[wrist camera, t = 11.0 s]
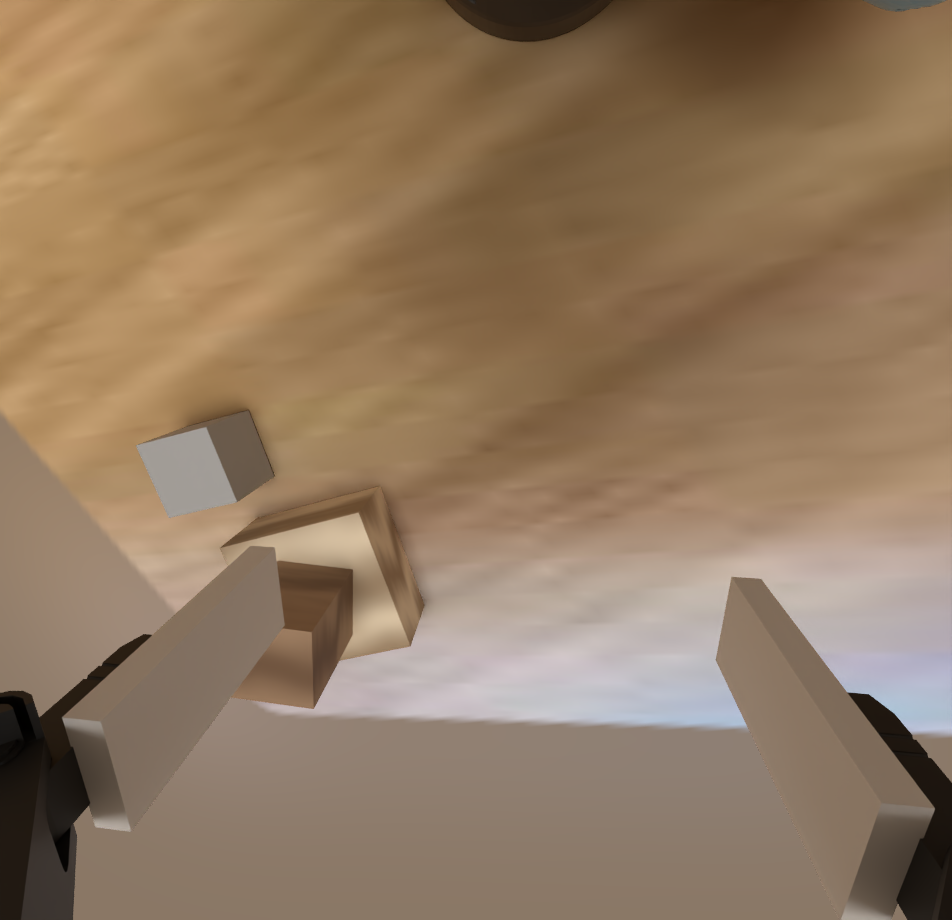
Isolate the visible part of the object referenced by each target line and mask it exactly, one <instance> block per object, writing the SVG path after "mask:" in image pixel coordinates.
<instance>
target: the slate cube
mask: <svg viewBox="0 0 952 920" xmlns="http://www.w3.org/2000/svg"><path fill="white" fill-rule="evenodd" d="M136 447H137V449H138V451H139V453H140V456H141V458H142V460H143V462H144V464H145V467H146V469H147V471H148V473H149V475H150V478H151V480H152V482H153V484H154V486H155V489H156V491H157V493H158V495H159V497H160V500H161V502H162V504H163V506H164V508H165V510H166V513H167V515H168V517H169V518H171V517H175V516H179V515H184V514H188V513H192V512H197V511H201V510H205V509H210V508H214V507H218V506H223V505H227V504H231V503H236V502H238V501H240V500H241V499H242V498H244V497H245V496H247V495H248V494H250V493H251V492H253V491H254V490H255V489H257V488H258V487H260V486H261V485H263V484H264V483H266V482H267V481H268V480H270V479H271V478H273V477H274V474H273V472H272V469H271V467H270V464H269V461H268V459H267V456H266V454H265V451H264V449H263V446H262V443H261V441H260V438H259V436H258V433H257V431H256V428H255V425H254V423H253V420H252V418H251V415H250V412H249V410H247V411H244V412H240V413H236V414H232V415H229V416H225V417H221V418H217V419H213V420H210V421H206V422H202V423H198V424H195V425H191V426H187V427H184V428H181V429H179V430H176V431H173V432H171V433H168V434H165V435H163V436H160V437H157V438H155V439H152V440H149V441H146V442H144V443H141V444H138V445H136Z"/></svg>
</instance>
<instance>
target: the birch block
mask: <svg viewBox="0 0 952 920" xmlns="http://www.w3.org/2000/svg"><path fill="white" fill-rule="evenodd" d="M250 546H263V547H275V552H276V560H277V561H286V562H295V563H303V564H312V565H320V566H329V567H337V568H345V569H353V635H352V637H351V639H350V641H349V643H348V645H347V647H346V649H345V651H344V652H343V654H342V656H341V658H340V660H345V659H350V658H355V657H360V656H364V655H369V654H374V653H379V652H384V651H389V650H394V649H399V648H404V647H409V646H411V643H412V640H413V637H414V634H415V631H416V629H417V626H418V623H419V620H420V617H421V614H422V611H423V608H424V603H423V600H422V597H421V595H420V592H419V589H418V587H417V584H416V581H415V579H414V576H413V573H412V570H411V568H410V565H409V562H408V560H407V557H406V554H405V552H404V549H403V546H402V544H401V541H400V538H399V536H398V533H397V530H396V527H395V525H394V522H393V519H392V517H391V514H390V511H389V509H388V506H387V503H386V501H385V498H384V495H383V492H382V490H381V487H380V486H378V487H374V488H370V489H366V490H362V491H359V492H355V493H351V494H347V495H343V496H340V497H336V498H332V499H328V500H324V501H321V502H317V503H313V504H309V505H305V506H302V507H298V508H294V509H290V510H286V511H283V512H279V513H275V514H271V515H268V516H264V517H260V518H257V519H255V520H254V521H253V522H252V523H250V524H249V525H248V526H247V527H245V528H244V529H243V530H242V531H240V532H239V533H238V534H237V535H235V536H234V537H233V538H232V539H230V540H229V541H228V542H227V543H226V544H224V545H223V546H222V547H221V548H220V550H221V552H222V554H223V556H224V559H225V561H226V563H227V565H228V566H229V565H230V564H231V563H232V562H233V561H234V560H236V559H237V558H238V557H239V556H240V555H241V554H242V553H243V552H244V551H245V550H247V549H248V548H249V547H250ZM340 660H339V661H340Z"/></svg>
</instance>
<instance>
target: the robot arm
mask: <svg viewBox="0 0 952 920" xmlns="http://www.w3.org/2000/svg"><path fill="white" fill-rule="evenodd" d="M446 1H447V2H448V4H449V5H450V6H451V7H452V8H453V9H454V10H455V11H456V12H457V13H458V14H459V15H460V16H461V17H463V18H464V19H465V20H466V21H468V22H469V23H471V24H472V25H473V26H475V27H477V28H479V29H480V30H482V31H484V32H487V33H489V34H491V35H494V36H497V37H501V38H504V39H510V40H517V41H535V40H543V39H548V38H552V37H555V36H559V35H561V34H564V33H567V32H569V31H571V30H573V29H575V28H577V27H579V26H581V25H582V24H584V23H585V22H587V21H589V20H590V19H591V18H593V17H594V16H595V15H597V14H598V13H599V12H600V11H601V10H603V9H604V8H605V7H606V6H607V5H608V4H609V3H610V2H611V1H612V0H446ZM863 1H865V2H868V3H870V4H872V5H874V6H877V7H879V8H881V9H884V10H888V11H896V12H897V11H905V10H909V9H918V8H921V7H930V6H933V5H936V4H939V3H941V2H944V1H946V0H863ZM284 625H285V623H284V615H283V608H282V600H281V592H280V584H279V576H278V568H277V560H276V552H275V547H263V546H250V547H249V548H248V549H247V550H245V551H244V552H243V553H242V554H241V555H240V556H239V557H238V558H237V559H236V560H234V561H233V562H232V563H231V564H230V565H229V566H228V567H227V568H226V569H225V570H223V571H222V572H221V573H220V574H219V575H218V576H217V577H216V578H215V579H214V580H212V581H211V582H210V583H209V584H208V585H207V586H206V587H205V588H204V589H203V590H201V591H200V592H199V593H198V594H197V595H196V596H195V597H194V598H193V599H192V600H190V601H189V602H188V603H187V604H186V605H185V606H184V607H183V608H182V609H181V610H179V611H178V612H177V613H176V614H175V615H174V616H173V617H172V618H171V619H170V620H168V622H166V623H165V624H164V625H163V626H162V627H161V628H160V629H159V630H158V631H157V632H155V633H154V634H153V635H146V634H143V635H142V636H140V637H138V638H136V639H134V640H133V641H131V642H129V643H127V644H125V645H123V646H122V647H120V648H119V649H118V650H117V651H116V652H114V653H113V654H112V655H111V656H110V657H109V658H107V659H106V660H105V661H104V662H103V664H102V666H98V667H97V668H96V669H95V670H94V671H92V672H91V673H90V674H89V675H88V677H87V679H83V680H82V681H81V682H80V683H79V684H78V685H77V686H75V687H74V688H73V689H72V690H71V691H69V692H68V693H67V694H66V695H65V696H64V697H63V698H62V699H60V700H59V701H58V702H57V703H56V704H55V705H53V706H52V707H51V708H50V709H49V710H48V711H46V712H45V713H44V714H43V715H42V716H41V717H40V718H39V716H38V713H37V710H36V707H35V704H34V701H33V698H32V695H31V694H29V693H26V692H24V691H8V692H4V693H0V920H73V904H74V885H75V865H76V845H77V834H76V831H75V827H74V824H73V823H74V822H75V821H76V820H77V818H78V817H79V816H80V815H81V814H82V812H83V811H84V810H85V809H86V808H87V807H88V806H89V807H90V811H91V814H92V817H93V820H94V823H95V827H99V828H106V829H114V830H122V831H130V832H131V831H132V830H133V829H134V827H135V826H136V825H137V823H138V822H139V821H140V819H141V818H142V817H143V815H144V814H145V813H146V811H147V810H148V809H149V807H150V806H151V804H152V803H153V802H154V800H155V799H156V798H157V796H158V795H159V794H160V792H161V791H162V790H163V788H164V787H165V786H166V784H167V783H168V782H169V780H170V779H171V778H172V776H173V775H174V773H175V772H176V771H177V770H178V768H179V767H180V765H181V764H182V763H183V761H184V760H185V759H186V757H187V756H188V755H189V753H190V752H191V751H192V749H193V748H194V746H195V745H196V744H197V742H198V741H199V740H200V738H201V737H202V736H203V734H204V733H205V732H206V730H207V729H208V728H209V726H210V725H211V724H212V722H213V721H214V720H215V718H216V717H217V716H218V714H219V713H220V712H221V710H222V709H223V707H224V706H225V705H226V704H227V702H228V701H229V699H230V698H231V697H232V695H233V694H234V693H235V691H236V690H237V689H238V687H239V686H240V685H241V683H242V682H243V681H244V679H245V678H246V677H247V675H248V674H249V673H250V671H251V670H252V669H253V667H254V666H255V664H256V663H257V662H258V660H259V659H260V658H261V656H262V655H263V654H264V652H265V651H266V650H267V648H268V647H269V646H270V644H271V643H272V642H273V640H274V639H275V638H276V636H277V635H278V634H279V632H280V631H281V629H282V628H283V627H284ZM716 661H717V664H718V666H719V668H720V670H721V672H722V674H723V676H724V678H725V680H726V682H727V685H728V687H729V689H730V691H731V693H732V695H733V697H734V699H735V701H736V703H737V706H738V708H739V710H740V712H741V714H742V716H743V718H744V720H745V722H746V725H747V727H748V729H749V731H750V733H751V735H752V737H753V739H754V741H755V743H756V746H757V748H758V750H759V752H760V754H761V756H762V758H763V760H764V762H765V764H766V767H767V768H768V771H769V773H770V775H771V777H772V779H773V781H774V783H775V786H776V788H777V790H778V791H779V794H780V796H781V798H782V800H783V802H784V805H785V807H786V809H787V811H788V813H789V815H790V817H791V819H792V821H793V823H794V825H795V828H796V830H797V832H798V834H799V836H800V838H801V840H802V842H803V845H804V846H805V849H806V851H807V853H808V855H809V857H810V859H811V861H812V863H813V866H814V868H815V870H816V872H817V874H818V876H819V878H820V880H821V882H822V885H823V887H824V889H825V891H826V893H827V895H828V897H829V899H830V901H831V903H832V905H833V908H834V909H835V912H836V914H837V916H838V918H839V920H891V919H892V917H893V914H894V912H895V909H896V906H897V904H899V906H900V908H901V909H902V911H903V913H904V914H905V916H906V918H907V920H952V783H951V781H950V780H949V779H948V778H947V777H946V775H945V774H944V773H943V772H942V771H941V770H940V768H939V767H938V766H937V764H936V763H935V762H934V761H933V760H932V759H931V758H928V755H927V752H926V751H925V750H924V749H923V748H922V747H921V745H920V744H919V743H918V742H917V740H913V738H912V734H911V733H910V732H909V731H908V730H907V728H906V727H905V726H904V725H903V724H902V722H901V721H900V720H899V719H898V718H897V716H896V715H895V714H894V713H893V712H891V711H890V710H889V709H887V708H886V707H885V706H883V705H882V704H881V703H879V702H878V701H877V700H875V699H874V698H873V697H871V696H870V695H869V694H858V693H847V692H846V690H845V689H844V688H843V686H842V685H841V684H840V683H839V681H838V680H837V679H836V677H835V676H834V675H833V673H832V672H831V671H830V669H829V668H828V667H827V665H826V664H825V663H824V661H823V660H822V659H821V658H820V656H819V655H818V654H817V652H816V651H815V650H814V648H813V647H812V646H811V644H810V643H809V642H808V640H807V639H806V638H805V636H804V635H803V634H802V632H801V631H800V630H799V629H798V627H797V626H796V625H795V623H794V622H793V621H792V619H791V618H790V617H789V615H788V614H787V613H786V611H785V610H784V609H783V607H782V606H781V605H780V603H779V602H778V601H777V600H776V598H775V597H774V596H773V594H772V593H771V592H770V590H769V589H768V588H767V586H766V585H765V584H764V582H763V581H762V580H761V579H754V578H739V577H732V578H731V583H730V588H729V593H728V599H727V604H726V609H725V614H724V620H723V625H722V630H721V635H720V641H719V646H718V651H717V657H716Z"/></svg>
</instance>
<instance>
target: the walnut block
mask: <svg viewBox="0 0 952 920" xmlns="http://www.w3.org/2000/svg"><path fill="white" fill-rule="evenodd" d="M277 568H278V576H279V584H280V592H281V600H282V608H283V615H284V623H285V625H284V627H283V628H282V629H281V631H280V632H279V634H278V635H277V636H276V638H275V639H274V640H273V642H272V643H271V644H270V646H269V647H268V648H267V650H266V651H265V652H264V654H263V655H262V656H261V658H260V659H259V660H258V662H257V663H256V664H255V666H254V667H253V669H252V670H251V671H250V673H249V674H248V675H247V677H246V678H245V679H244V681H243V682H242V683H241V685H240V686H239V687H238V689H237V690H236V691H235V693H234V694H233V695H232V698H239V699H246V700H253V701H261V702H268V703H275V704H282V705H289V706H296V707H304V708H311V709H314V707H315V705H316V704H317V702H318V700H319V698H320V696H321V694H322V692H323V690H324V688H325V687H326V685H327V683H328V681H329V679H330V677H331V675H332V673H333V671H334V669H335V668H336V666H337V664H338V662H339V660H340V658H341V656H342V654H343V652H344V651H345V649H346V647H347V645H348V643H349V641H350V639H351V637H352V635H353V569H345V568H337V567H329V566H320V565H312V564H303V563H295V562H286V561H277Z"/></svg>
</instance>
